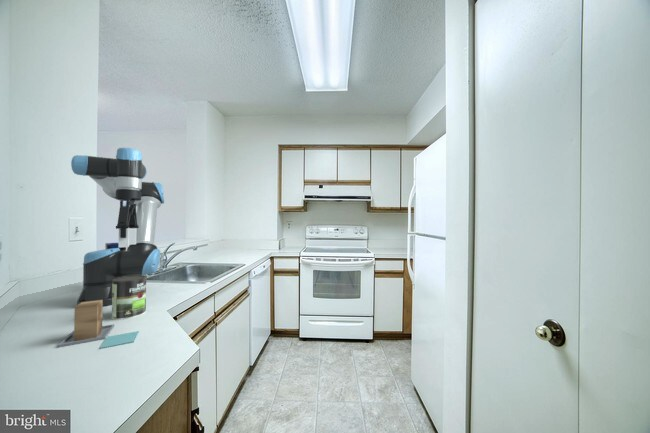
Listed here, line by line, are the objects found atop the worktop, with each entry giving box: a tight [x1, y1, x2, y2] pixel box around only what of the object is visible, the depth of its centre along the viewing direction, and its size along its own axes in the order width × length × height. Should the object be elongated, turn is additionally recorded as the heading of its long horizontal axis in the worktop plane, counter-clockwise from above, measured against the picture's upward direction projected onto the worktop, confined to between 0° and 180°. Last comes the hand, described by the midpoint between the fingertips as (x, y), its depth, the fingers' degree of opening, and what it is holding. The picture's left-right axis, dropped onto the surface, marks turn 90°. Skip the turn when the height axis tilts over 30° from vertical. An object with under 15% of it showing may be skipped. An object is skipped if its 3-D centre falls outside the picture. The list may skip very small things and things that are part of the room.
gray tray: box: [57, 323, 115, 349], centre depth 74 cm, size 10×10×1 cm
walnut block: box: [73, 300, 104, 341], centre depth 74 cm, size 5×5×10 cm
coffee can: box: [111, 275, 147, 321], centre depth 92 cm, size 10×10×14 cm
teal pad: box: [99, 330, 140, 350], centre depth 72 cm, size 8×8×1 cm
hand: (127, 245), depth 91 cm, fingers open, 13 cm apart
